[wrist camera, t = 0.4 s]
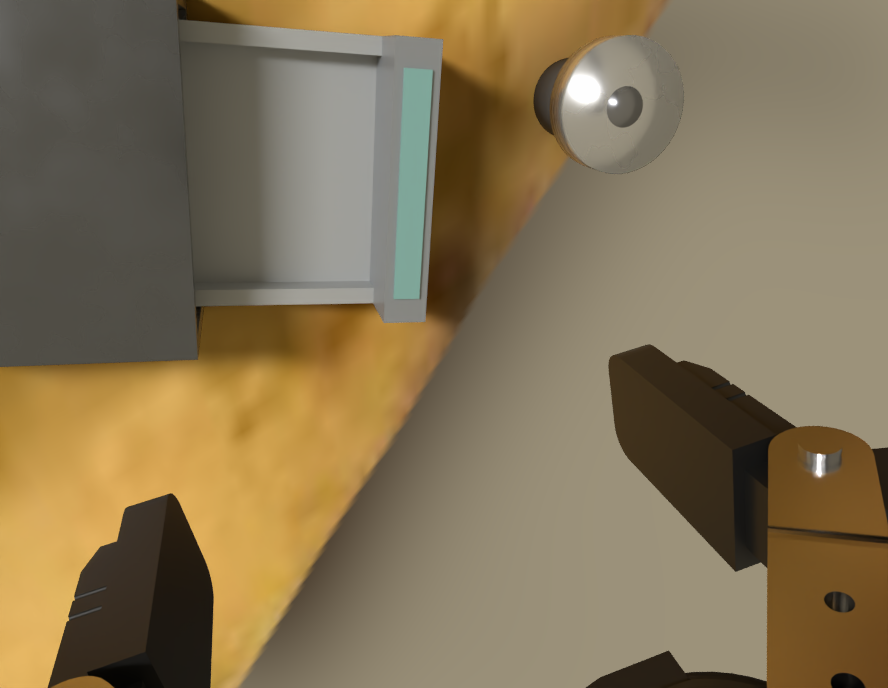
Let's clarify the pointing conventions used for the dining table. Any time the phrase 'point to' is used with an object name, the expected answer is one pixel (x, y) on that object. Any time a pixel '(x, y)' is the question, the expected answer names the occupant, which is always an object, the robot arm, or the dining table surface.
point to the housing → (94, 184)
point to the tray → (310, 166)
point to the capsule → (546, 94)
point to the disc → (617, 103)
